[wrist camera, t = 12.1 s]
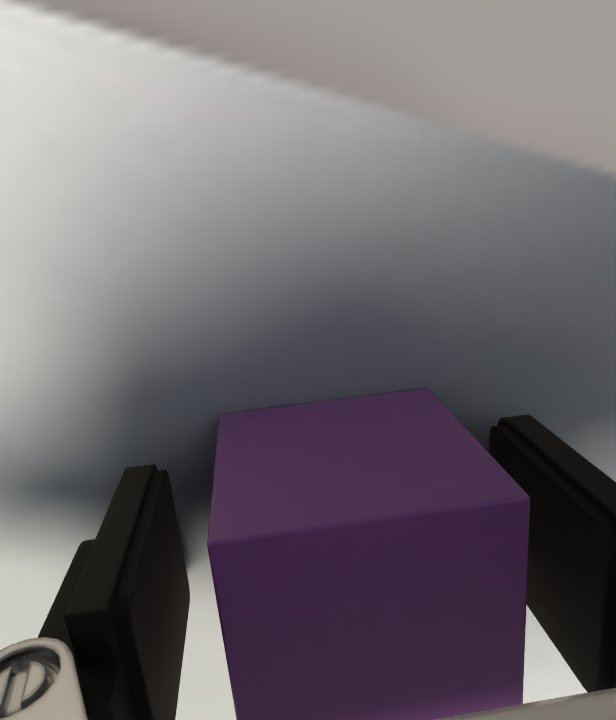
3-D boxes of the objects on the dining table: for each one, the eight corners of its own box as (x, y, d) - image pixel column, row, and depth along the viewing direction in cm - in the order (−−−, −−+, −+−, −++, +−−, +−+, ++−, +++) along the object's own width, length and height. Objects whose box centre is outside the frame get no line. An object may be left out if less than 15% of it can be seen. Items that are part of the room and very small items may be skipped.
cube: (428, 386, 11) (531, 496, 7) (432, 562, 12) (522, 738, 8) (219, 413, 11) (206, 544, 7) (245, 590, 12) (247, 787, 8)
